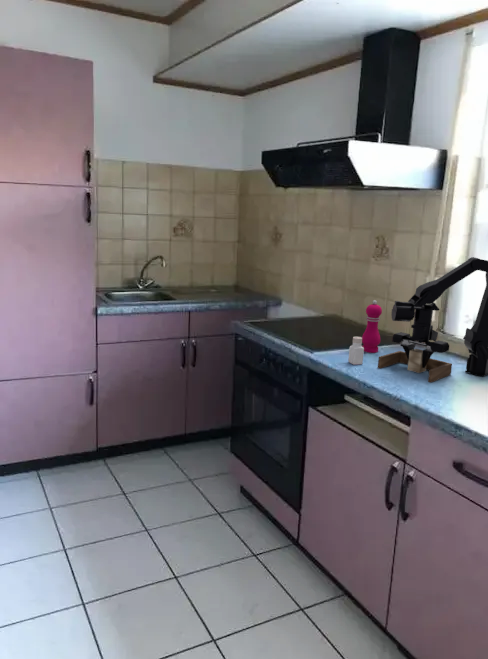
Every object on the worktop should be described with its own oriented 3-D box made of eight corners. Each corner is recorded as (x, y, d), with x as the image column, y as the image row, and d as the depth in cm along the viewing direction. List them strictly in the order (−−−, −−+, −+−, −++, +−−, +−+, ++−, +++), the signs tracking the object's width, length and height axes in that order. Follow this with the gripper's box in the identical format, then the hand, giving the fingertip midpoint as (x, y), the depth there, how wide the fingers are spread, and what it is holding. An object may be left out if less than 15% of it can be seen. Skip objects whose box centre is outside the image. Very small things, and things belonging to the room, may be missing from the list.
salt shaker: (357, 361, 201) (359, 336, 199) (363, 364, 197) (365, 338, 195) (347, 362, 199) (349, 336, 197) (353, 365, 196) (355, 339, 194)
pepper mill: (364, 347, 222) (368, 298, 217) (381, 350, 218) (387, 300, 214) (357, 351, 216) (362, 300, 211) (375, 354, 212) (381, 302, 208)
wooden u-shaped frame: (450, 374, 190) (452, 363, 189) (430, 382, 180) (432, 370, 179) (398, 361, 204) (399, 350, 203) (377, 367, 194) (378, 356, 193)
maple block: (425, 370, 193) (428, 351, 192) (419, 373, 190) (421, 353, 189) (414, 367, 196) (416, 348, 195) (407, 369, 193) (409, 350, 192)
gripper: (459, 324, 189) (453, 368, 192) (409, 315, 202) (405, 356, 205) (444, 328, 181) (438, 374, 184) (393, 318, 194) (388, 361, 197)
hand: (417, 366), depth 193 cm, fingers closed on maple block, 4 cm apart
